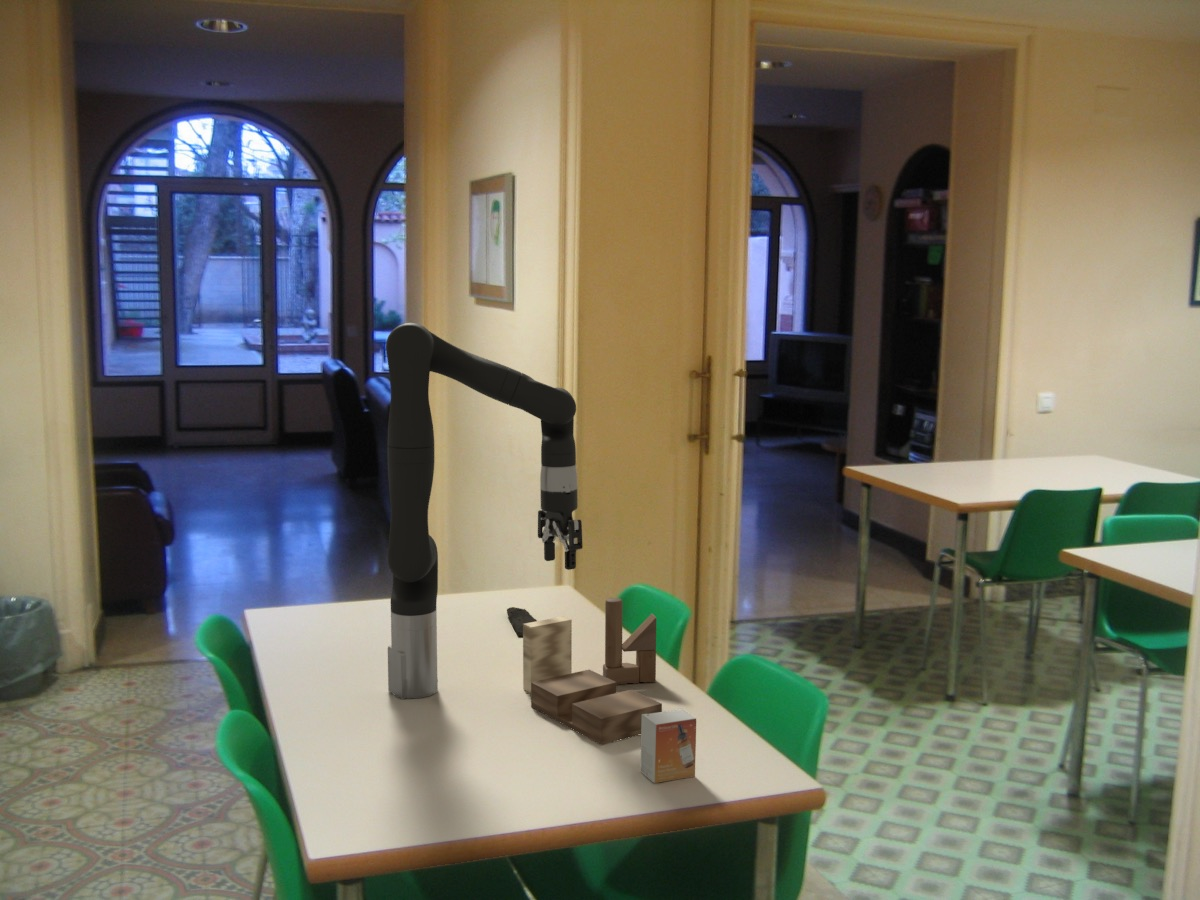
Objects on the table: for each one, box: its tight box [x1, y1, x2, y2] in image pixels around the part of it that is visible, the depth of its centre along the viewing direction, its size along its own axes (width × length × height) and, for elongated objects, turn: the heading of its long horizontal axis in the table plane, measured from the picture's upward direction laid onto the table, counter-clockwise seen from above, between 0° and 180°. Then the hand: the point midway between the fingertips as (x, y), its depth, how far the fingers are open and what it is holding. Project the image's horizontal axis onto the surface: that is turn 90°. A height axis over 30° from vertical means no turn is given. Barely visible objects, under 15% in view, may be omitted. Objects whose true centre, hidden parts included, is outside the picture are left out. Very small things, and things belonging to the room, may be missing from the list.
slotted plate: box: [530, 669, 663, 746], centre depth 229 cm, size 14×24×5 cm, turn 35°
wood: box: [506, 606, 538, 639], centre depth 291 cm, size 22×7×3 cm, turn 13°
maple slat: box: [522, 615, 573, 694], centre depth 246 cm, size 10×3×14 cm, turn 125°
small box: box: [640, 708, 697, 784], centre depth 202 cm, size 8×6×10 cm
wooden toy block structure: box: [602, 597, 657, 685], centre depth 249 cm, size 4×11×18 cm, turn 102°
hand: (559, 564), depth 243 cm, fingers open, 8 cm apart
